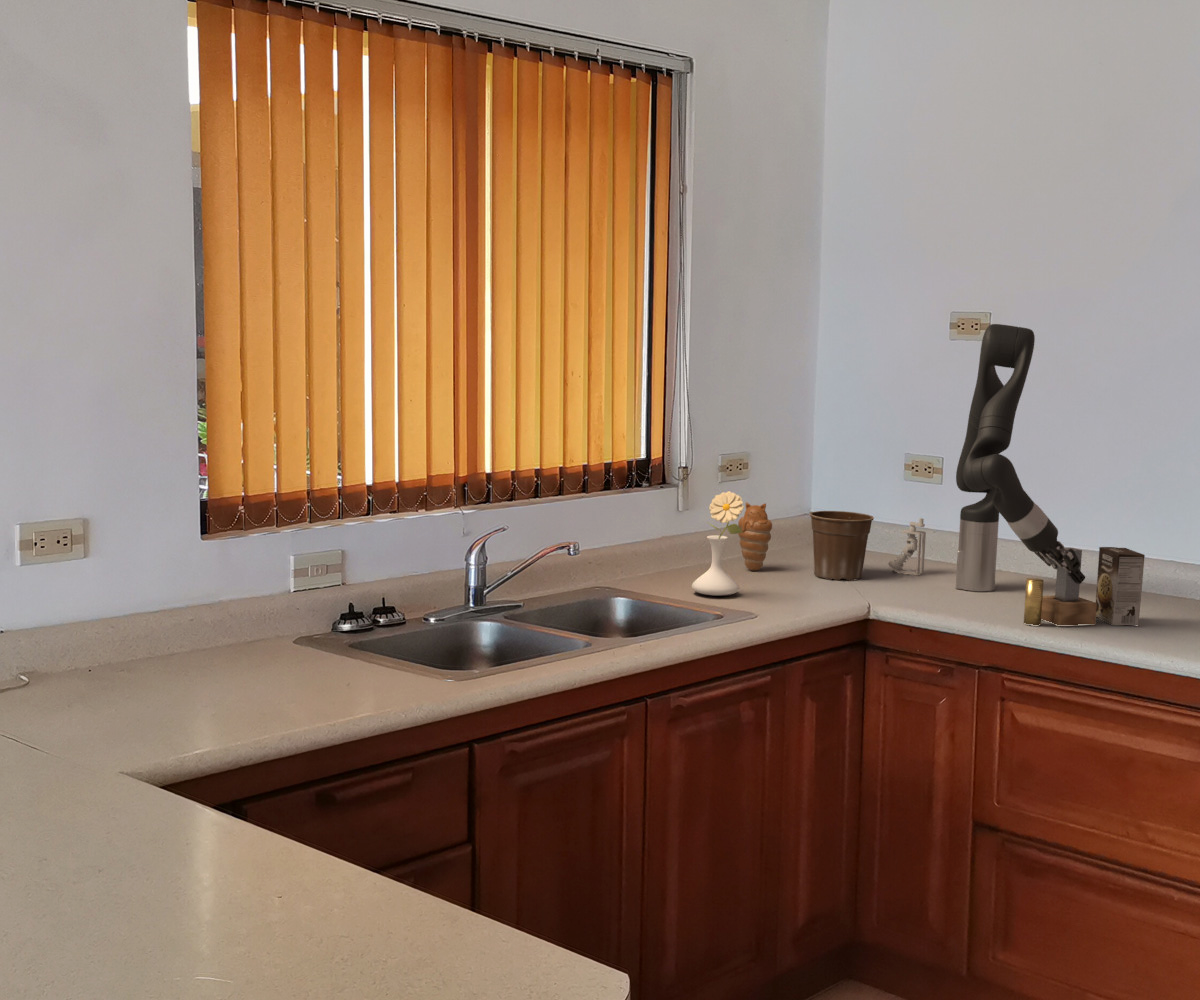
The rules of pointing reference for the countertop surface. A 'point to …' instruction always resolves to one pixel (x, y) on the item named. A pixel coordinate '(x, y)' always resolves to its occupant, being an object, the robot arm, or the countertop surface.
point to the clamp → (911, 549)
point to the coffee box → (1119, 585)
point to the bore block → (1068, 611)
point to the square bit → (1067, 582)
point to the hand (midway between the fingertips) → (1075, 579)
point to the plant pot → (839, 543)
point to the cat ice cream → (754, 535)
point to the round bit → (1033, 601)
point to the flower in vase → (720, 547)
